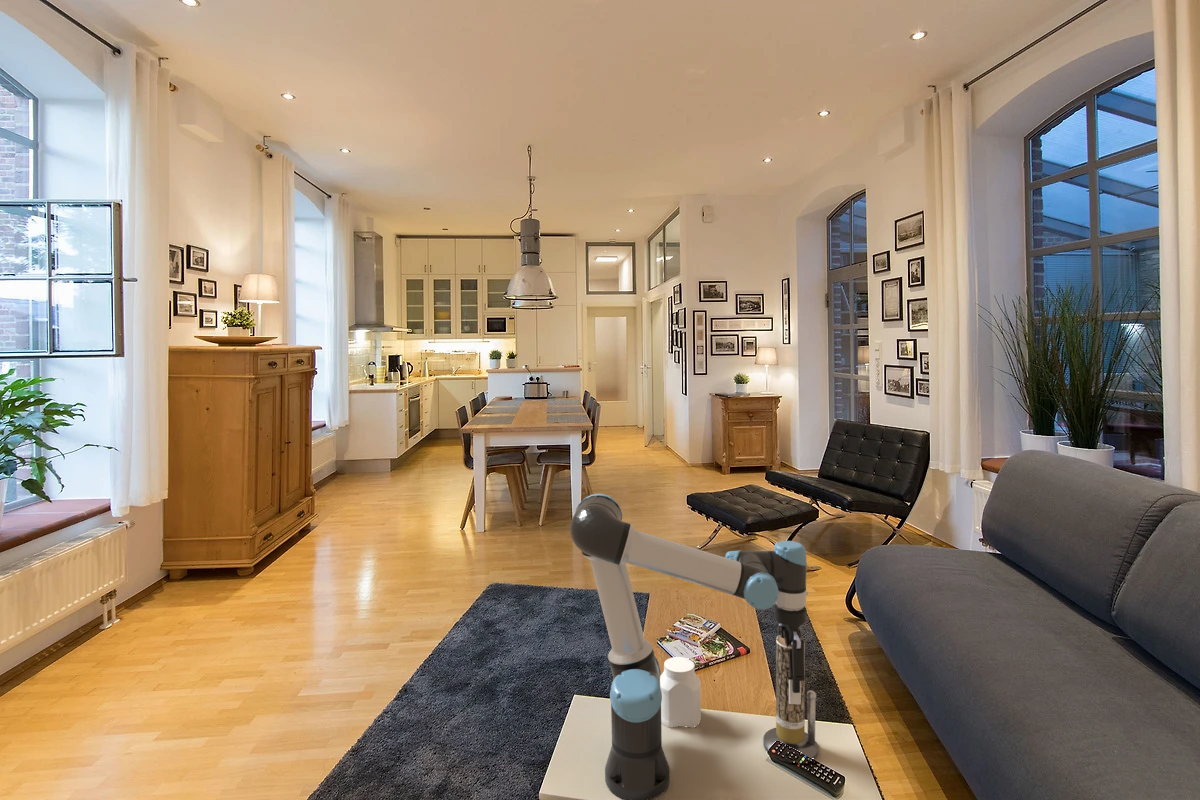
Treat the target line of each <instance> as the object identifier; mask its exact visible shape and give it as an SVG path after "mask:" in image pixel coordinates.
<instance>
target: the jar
mask: <svg viewBox="0 0 1200 800" xmlns="http://www.w3.org/2000/svg"><path fill="white" fill-rule="evenodd" d="M695 668H696V667H695V663H694V661H693V660H691V659H689V658H687V657H686V658H685V657H682V656H675V657H673V656H672V657H668V658H667V659H666V660H665V661H664V664H663V672H662V673H661V675H660V688H661V692H662V702H661V724H662V725H664V726H666V727H667V728H672V729H673V727H674V728H679V727H678V726H687V727H686V728H688V727H694V726H696V725H697V724H698V723H699V722H700V723H701V721H702V708H701V707H702V705H701V692H702V691H701V688H702V682H701V679H700V677H699V676H698V674H696V671H695ZM700 720H701V721H700ZM700 723H699V724H700ZM699 724H698V725H699ZM698 725H697V726H698ZM697 726H696V727H697ZM694 728H695V727H694Z"/></svg>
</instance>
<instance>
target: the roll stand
mask: <svg viewBox="0 0 1200 800" xmlns="http://www.w3.org/2000/svg"><path fill="white" fill-rule="evenodd" d="M806 697H807V731H806V732H805V733H804V740H803V741H802V742H801V743H798V744H789V743H785V742H783V741H782V740H780V739H779V738H778V736H777V734H776V727H773V728H770V729H769V730H767V731H766V732H765V733H764V735H763V739H762V743H763V748H764V750H765V751H766V752H767V753H768V751H769V748H770V747H771V746H772V744H773V743H774V742H775V741H781V742H783V743H784V744H786V745H788V746H790V747H792V748H794V749H796V750H798V751H800V752H802V753H803V754H804V755H806V756H808V757H810V758H814V760H815V759H816V758H817V756H818V753H819V752H818V751H819V749H818V747H819V746H818V743H817V741H816V698H817V693H816V692H815V691H814V690H811V689H810V690H808V691H807V693H806Z"/></svg>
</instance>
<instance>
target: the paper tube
mask: <svg viewBox="0 0 1200 800" xmlns="http://www.w3.org/2000/svg"><path fill="white" fill-rule="evenodd" d="M775 639H776V640H775V666H776V667H775V673H776V674H775V692H776V693H775V709H776V710H775V712H776V713H775V715H776V717H775V722H776V723H775V728H776V734H777V736H778V738H779V739H780V740H782V741H783V742H785V743H789V744H798V743H801V742H802V741H803V740H804V733H805V725H806V724H805V720H806V718H805V717H806V716H805V714H806V713H805V712H806V710H805V708H806V707H805V705H806V702H805V701H806V696H805V694H806V693H805V692H806V690H805V688H806V687H805V685H806V684H805V683H806V681H805V679H806V678H805V677H806V675H805V674H806V673H805V672H806V662H805V661H806V656H805V654H806V650H805V649H806V644H805V640H804V638H803V637H802V636H801V637H800V640H804V678H805V679H804V681H801V704H789V680H788V678H787V677H790V667H789V651H790V652H792V644H789V646H788V649H787V645H786V644H785V638H781V636H780V635H779V636H778V635H777V636H776V638H775Z"/></svg>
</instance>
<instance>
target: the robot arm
mask: <svg viewBox="0 0 1200 800" xmlns="http://www.w3.org/2000/svg"><path fill="white" fill-rule="evenodd" d="M569 531H570V536H571V539H572V542H573V543H574V545H575V546H576V547H577V548H578V549H579V550H580V551H581V554H582V556H583V558H585V559H588V560H589V562H590V565H591V566H590V567H591V570H592V572H593V573H592V574H593V578H594V582H595V585H596V588H597V589H596V590H597V593H598V597H599V601H600V606H601V610H602V613H603V618H604V621H605V626H606V629H607V633H608V637H609V642H610V645H611V649H610V651H609V653H608V655H607V659H608V663H609V666H610V671H611V674H612V678H613V680H612V682H611V687H610V691H609V700H610V713H611V714H610V715H611V721H610V722H611V747H610V750H609V754H608V757H607V759H606V763H605V767H604V782H605V784H606V786H607V788H608V790H609V791H610V792H611V793H613V795H615V796H617V797H618V798H621V799H624V800H653V799H656V798H657V797H659V796H662V794H663V793H665V792H666V791H667V789H668V788H669V785H670V779H671V778H670V777H671V776H670V775H671V774H670V772H671V771H670V766H669V763H668V760H667V757H666V754H665V752H664V748H663V746H662V745H663V741H662V738H663V737H662V734H663V733H662V730H663V729H662V722H661V702H662V692H661V688H660V676H661V675H662V673H661V667H660V664H659V661H658V658H657V657H656V654H655V651H654V648H653V644H652V643H651V642H650V641H648V640H647V639H645V636H644V632H643V631H644V630H643V628H642V627H643V626H642V625H641V620H640V615H639V611H638V608H637V603H636V600H635V595H634V591H633V588H632V584H631V583H632V582H631V579H630V575H629V571H628V567H627V564H629V565H633V566H637V567H639V568H643V569H646V570H650V571H653V572H657V573H660V574H663V575H666V576H668V577H669V576H670V577H673V578H675V579H679V580H682V581H686V582H688V583H691V584H695V585H698V586H701V587H705V588H708V589H712V590H715V591H718V592H720V593H724V594H727V595H731V596H735V597H738V598H739V599H744V600H745V601H746V602H747V604H749V605H750V606H751V607H753V608H754V609H756V610H768V609H770V608H771V607H773V606H774V609H773V610H774V619H775V621H776V622H777V637H778V636H779V635H780V636H781V638H785V644H786V645H787V649H788V646H789V644H792V652H790V651H789V667H790V677H787V678H788V680H789V704H801V681H804V679H806V678H804V641H805V640H804V639H803V640H800V637H801V638H802V634H801V629H800V627H801V626H802V625H804V624H806V622H807V607H806V606H807V596H808V594H809V592H808V591H807V566H808V562H807V551H806V547H805V546H804V544H802V543H800V542H797V541H792V540H783V541H777V542H776V543H775V544H774V548H773V550H741V549H739V550H731V551H730V550H729V551H727V552H726V553H725V556H720V555H719V554H714V553H712V552H708V551H704V550H701V549H698V548H696V547H692V546H688V545H686V544H682V543H679V542H675V541H672V540H668V539H666V538H662V537H659V536H656V535H653V534H650V533H646V532H643V531H641V530H640V531H639V530H636V529H635V527H634V526H633V524H632V523H630V522H629V523H628V522H627V521H624V520H623V512H622V508H621V507H620V505H619V503H618V502H617V501H616V500H615V499H614V498H613V497H612V496H610V495H608V494H605V493H592V494H589V495H588V496H586V497H585V498H583V499H582V500H581V501H580V502H579V504H578V505H577V507H576V509H575V513H574V514H573V516H572V519H571V521H570V526H569ZM626 563H627V564H626Z"/></svg>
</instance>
